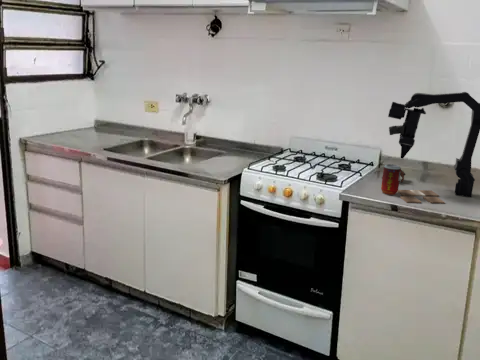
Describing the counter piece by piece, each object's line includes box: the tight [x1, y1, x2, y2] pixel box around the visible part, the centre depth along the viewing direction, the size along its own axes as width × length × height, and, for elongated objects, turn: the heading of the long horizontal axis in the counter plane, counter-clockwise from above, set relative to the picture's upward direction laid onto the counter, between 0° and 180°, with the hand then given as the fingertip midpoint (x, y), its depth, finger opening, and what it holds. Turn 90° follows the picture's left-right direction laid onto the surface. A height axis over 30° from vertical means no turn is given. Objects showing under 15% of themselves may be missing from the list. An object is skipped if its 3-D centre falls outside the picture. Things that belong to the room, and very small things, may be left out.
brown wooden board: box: [397, 189, 440, 198], centre depth 217 cm, size 16×7×1 cm, turn 95°
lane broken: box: [399, 195, 446, 205], centre depth 208 cm, size 16×7×1 cm, turn 95°
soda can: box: [380, 163, 402, 196], centre depth 215 cm, size 7×7×12 cm
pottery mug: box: [381, 169, 406, 183], centre depth 235 cm, size 12×10×8 cm
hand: (402, 156), depth 224 cm, fingers open, 9 cm apart
